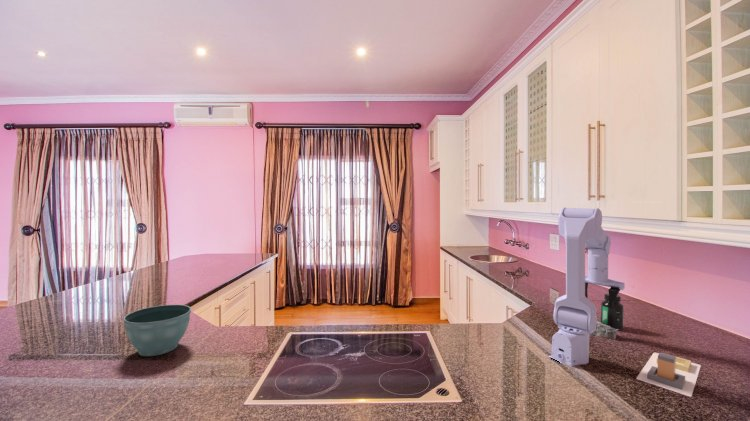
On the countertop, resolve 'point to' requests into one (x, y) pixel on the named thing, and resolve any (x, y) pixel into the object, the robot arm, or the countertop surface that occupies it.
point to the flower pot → (157, 328)
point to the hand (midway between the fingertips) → (597, 304)
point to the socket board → (683, 375)
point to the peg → (666, 366)
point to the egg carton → (604, 331)
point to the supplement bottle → (612, 313)
